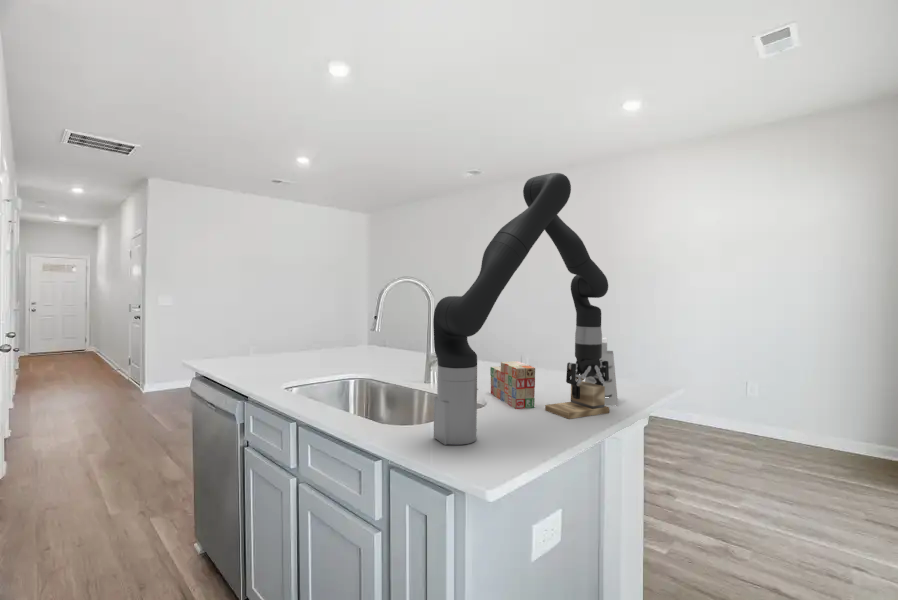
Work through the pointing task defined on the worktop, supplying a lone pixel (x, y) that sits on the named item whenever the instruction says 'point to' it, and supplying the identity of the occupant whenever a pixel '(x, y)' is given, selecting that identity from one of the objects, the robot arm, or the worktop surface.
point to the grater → (611, 383)
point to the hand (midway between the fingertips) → (587, 397)
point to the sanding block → (590, 395)
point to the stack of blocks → (514, 384)
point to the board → (574, 410)
